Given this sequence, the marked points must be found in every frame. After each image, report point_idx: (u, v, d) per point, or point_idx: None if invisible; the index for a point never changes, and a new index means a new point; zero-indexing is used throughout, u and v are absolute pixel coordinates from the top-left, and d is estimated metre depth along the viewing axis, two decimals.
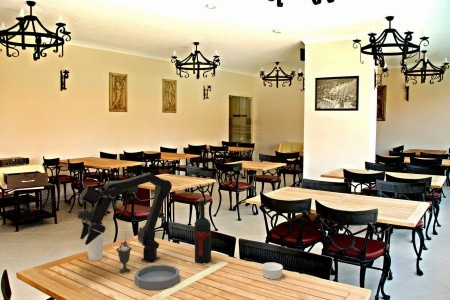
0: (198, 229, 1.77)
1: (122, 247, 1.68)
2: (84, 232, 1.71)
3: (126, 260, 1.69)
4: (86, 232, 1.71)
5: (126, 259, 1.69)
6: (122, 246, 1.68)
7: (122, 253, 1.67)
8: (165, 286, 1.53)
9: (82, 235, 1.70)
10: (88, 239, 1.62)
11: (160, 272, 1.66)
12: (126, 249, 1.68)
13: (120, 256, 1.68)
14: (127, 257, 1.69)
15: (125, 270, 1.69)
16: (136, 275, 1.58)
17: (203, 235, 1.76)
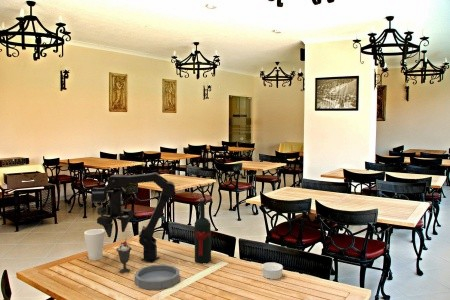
0: (198, 229, 1.77)
1: (122, 247, 1.68)
2: (123, 225, 1.85)
3: (126, 260, 1.69)
4: (124, 225, 1.85)
5: (126, 259, 1.69)
6: (122, 246, 1.68)
7: (122, 253, 1.67)
8: (165, 286, 1.53)
9: (122, 228, 1.85)
10: (107, 232, 1.76)
11: (160, 272, 1.66)
12: (126, 249, 1.68)
13: (120, 256, 1.68)
14: (127, 257, 1.69)
15: (125, 270, 1.69)
16: (136, 275, 1.58)
17: (203, 235, 1.76)
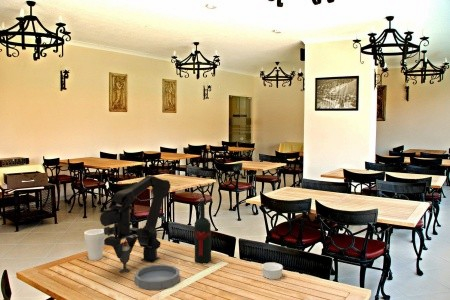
0: (198, 229, 1.77)
1: (122, 247, 1.68)
2: None
3: (126, 260, 1.69)
4: (130, 245, 1.73)
5: (126, 259, 1.69)
6: None
7: (122, 253, 1.67)
8: (165, 286, 1.53)
9: None
10: (116, 253, 1.66)
11: (160, 272, 1.66)
12: (126, 249, 1.68)
13: None
14: (127, 257, 1.69)
15: (125, 270, 1.69)
16: (136, 275, 1.58)
17: (203, 235, 1.76)
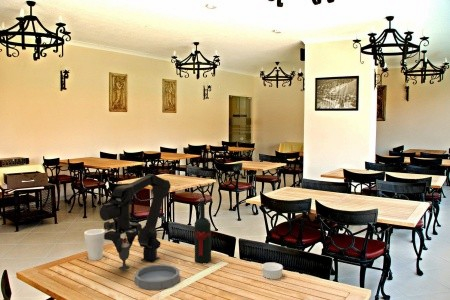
0: (198, 229, 1.77)
1: (122, 243, 1.68)
2: (129, 241, 1.73)
3: (126, 257, 1.68)
4: (130, 240, 1.72)
5: (126, 256, 1.68)
6: (122, 242, 1.68)
7: (122, 249, 1.67)
8: (165, 286, 1.53)
9: None
10: (116, 248, 1.66)
11: (160, 272, 1.66)
12: (126, 245, 1.67)
13: (120, 252, 1.68)
14: (127, 254, 1.68)
15: (124, 267, 1.69)
16: (136, 275, 1.58)
17: (203, 235, 1.76)
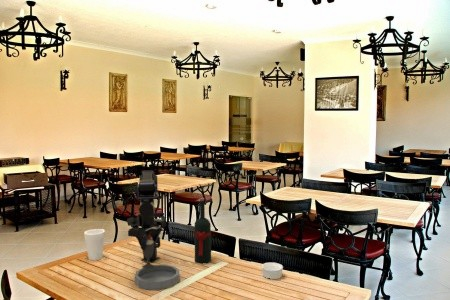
0: (198, 229, 1.77)
1: None
2: (153, 238, 1.65)
3: (150, 254, 1.60)
4: (154, 237, 1.64)
5: (150, 253, 1.60)
6: None
7: (146, 247, 1.59)
8: (165, 286, 1.53)
9: None
10: (141, 245, 1.58)
11: (160, 272, 1.66)
12: (150, 242, 1.59)
13: (144, 250, 1.60)
14: (151, 251, 1.60)
15: (149, 265, 1.61)
16: (136, 275, 1.58)
17: (203, 235, 1.76)
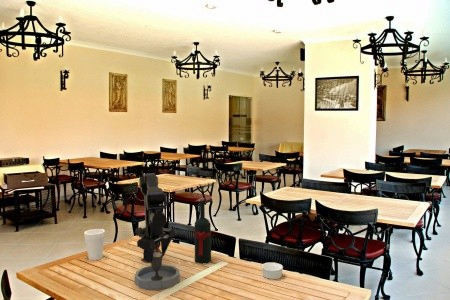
0: (198, 229, 1.77)
1: (154, 253, 1.57)
2: (163, 247, 1.64)
3: (159, 267, 1.58)
4: (164, 246, 1.63)
5: (159, 266, 1.58)
6: (154, 252, 1.57)
7: (155, 259, 1.57)
8: (165, 286, 1.53)
9: (162, 250, 1.64)
10: (148, 256, 1.55)
11: (160, 272, 1.66)
12: (159, 255, 1.57)
13: (152, 262, 1.57)
14: (160, 263, 1.58)
15: (157, 277, 1.59)
16: (136, 275, 1.58)
17: (203, 235, 1.76)
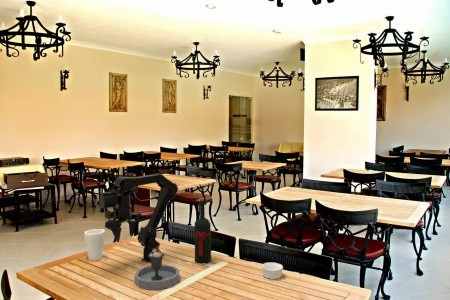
0: (198, 229, 1.77)
1: (155, 253, 1.57)
2: (131, 229, 1.78)
3: (159, 267, 1.58)
4: (132, 229, 1.78)
5: (159, 266, 1.58)
6: (154, 252, 1.57)
7: (155, 259, 1.57)
8: (165, 286, 1.53)
9: (130, 232, 1.79)
10: (115, 237, 1.69)
11: (160, 272, 1.66)
12: (159, 255, 1.57)
13: (152, 262, 1.57)
14: (160, 264, 1.58)
15: (157, 277, 1.59)
16: (136, 275, 1.58)
17: (203, 235, 1.76)
